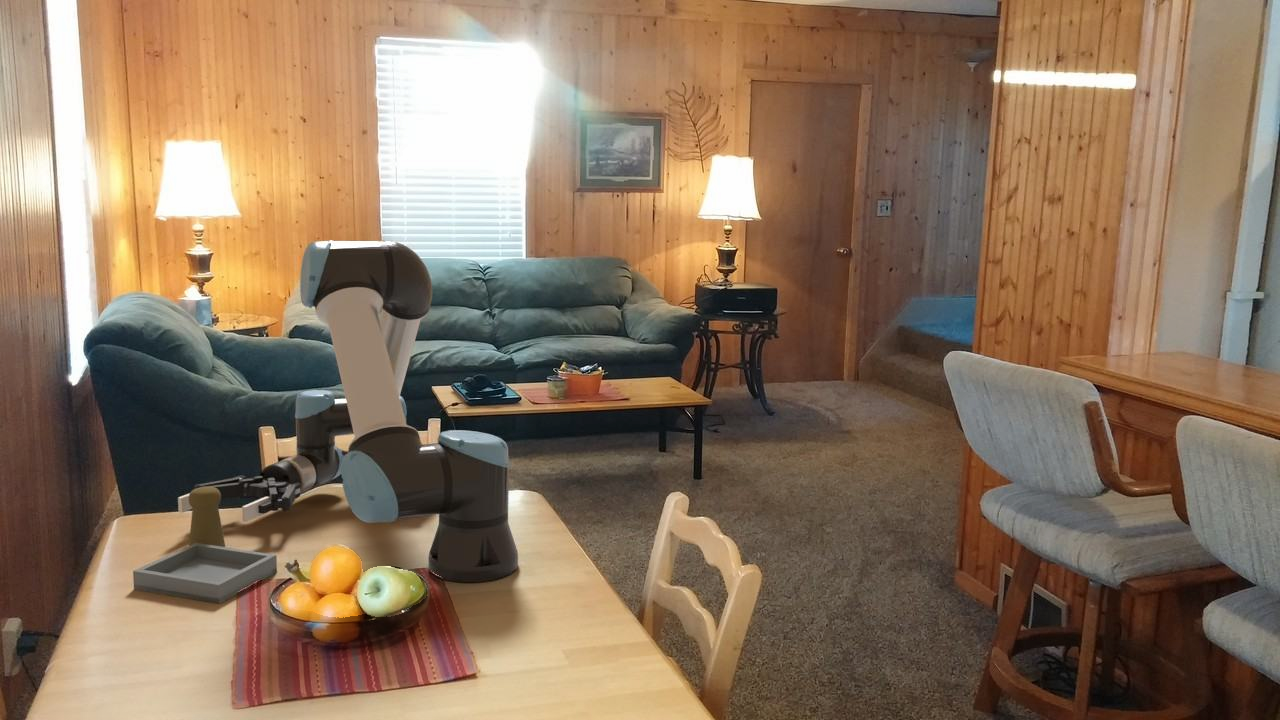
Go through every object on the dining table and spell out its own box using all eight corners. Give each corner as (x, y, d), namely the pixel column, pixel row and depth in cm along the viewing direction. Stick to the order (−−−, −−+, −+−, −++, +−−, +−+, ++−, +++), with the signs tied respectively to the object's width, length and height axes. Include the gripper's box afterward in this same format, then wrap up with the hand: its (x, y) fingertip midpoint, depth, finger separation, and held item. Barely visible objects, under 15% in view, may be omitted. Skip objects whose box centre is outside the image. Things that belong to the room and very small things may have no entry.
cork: (231, 544, 180) (229, 484, 179) (214, 555, 174) (212, 494, 173) (199, 542, 181) (197, 482, 179) (181, 553, 175) (178, 492, 173)
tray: (276, 572, 168) (276, 554, 168) (219, 603, 155) (218, 584, 154) (196, 559, 172) (195, 542, 172) (133, 589, 159) (133, 571, 159)
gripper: (342, 504, 196) (272, 538, 176) (233, 490, 203) (155, 521, 183) (341, 467, 195) (271, 497, 175) (232, 454, 202) (153, 481, 182)
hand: (211, 509), depth 179 cm, fingers open, 13 cm apart
